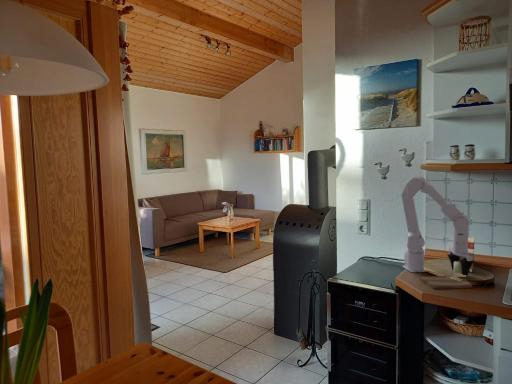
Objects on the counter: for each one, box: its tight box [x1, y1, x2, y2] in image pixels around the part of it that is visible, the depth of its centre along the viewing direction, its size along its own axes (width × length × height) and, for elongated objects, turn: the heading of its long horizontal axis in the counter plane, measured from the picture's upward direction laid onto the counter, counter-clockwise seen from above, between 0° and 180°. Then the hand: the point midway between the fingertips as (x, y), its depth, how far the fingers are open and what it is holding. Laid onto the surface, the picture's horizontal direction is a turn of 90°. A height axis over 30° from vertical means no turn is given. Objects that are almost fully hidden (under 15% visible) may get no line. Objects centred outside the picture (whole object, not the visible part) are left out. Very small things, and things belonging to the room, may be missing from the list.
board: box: [419, 275, 473, 290], centre depth 165 cm, size 12×16×1 cm
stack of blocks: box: [460, 236, 475, 270], centre depth 188 cm, size 21×6×12 cm, turn 150°
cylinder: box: [453, 261, 462, 274], centre depth 174 cm, size 5×5×6 cm
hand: (459, 272), depth 174 cm, fingers open, 7 cm apart
